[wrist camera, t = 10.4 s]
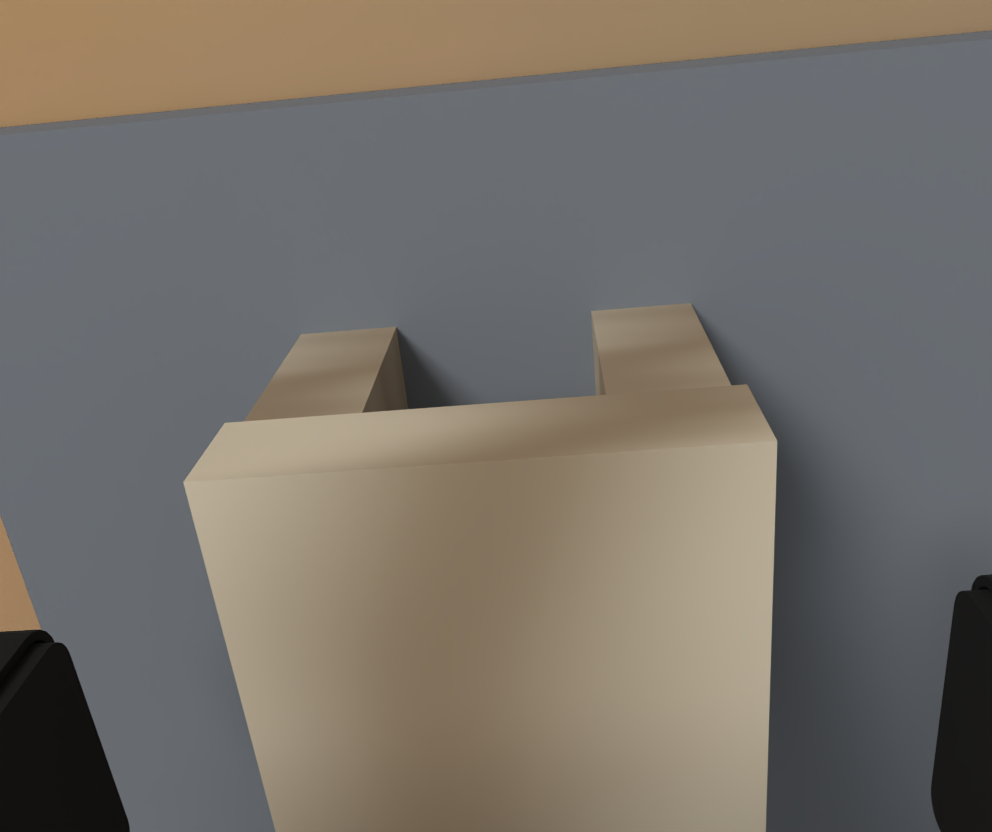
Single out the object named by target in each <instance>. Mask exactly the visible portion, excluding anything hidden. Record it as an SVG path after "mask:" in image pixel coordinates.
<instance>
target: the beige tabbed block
mask: <svg viewBox="0 0 992 832" xmlns="http://www.w3.org/2000/svg"><path fill="white" fill-rule="evenodd" d="M591 317H592V335H593V352H594V370H595V387H596V395H595V396H582V397H568V398H555V399H541V400H528V401H514V402H501V403H487V404H474V405H460V406H447V407H433V408H419V409H408V403H407V396H406V389H405V382H404V375H403V369H402V362H401V355H400V348H399V342H398V335H397V328H396V327H387V328H374V329H362V330H349V331H337V332H325V333H312V334H301V335H300V337H299V338H298V340H297V341H296V343H295V344H294V346H293V347H292V349H291V350H290V352H289V353H288V355H287V356H286V358H285V359H284V361H283V362H282V364H281V366H280V367H279V369H278V370H277V372H276V373H275V375H274V376H273V378H272V379H271V381H270V382H269V384H268V385H267V387H266V388H265V390H264V391H263V393H262V394H261V396H260V397H259V399H258V400H257V402H256V403H255V405H254V406H253V408H252V409H251V411H250V412H249V414H248V415H247V417H246V419H245V420H244V421H243V422H230V423H224V425H223V426H222V428H221V429H220V430H219V432H218V433H217V435H216V436H215V438H214V439H213V440H212V442H211V443H210V445H209V446H208V448H207V449H206V450H205V452H204V453H203V455H202V456H201V458H200V459H199V460H198V462H197V463H196V465H195V466H194V468H193V469H192V470H191V472H190V473H189V475H188V476H187V477H186V479H185V480H184V482H183V483H184V487H185V491H186V495H187V498H188V502H189V506H190V510H191V514H192V517H193V521H194V525H195V529H196V532H197V536H198V540H199V544H200V548H201V551H202V555H203V559H204V563H205V567H206V570H207V574H208V578H209V582H210V585H211V589H212V593H213V597H214V601H215V604H216V608H217V612H218V616H219V619H220V623H221V627H222V631H223V635H224V638H225V642H226V646H227V650H228V654H229V657H230V661H231V665H232V669H233V672H234V676H235V680H236V684H237V688H238V691H239V695H240V699H241V703H242V707H243V710H244V714H245V718H246V722H247V725H248V729H249V733H250V737H251V741H252V744H253V748H254V752H255V756H256V759H257V763H258V767H259V771H260V775H261V778H262V782H263V786H264V790H265V794H266V797H267V801H268V805H269V809H270V812H271V816H272V820H273V824H274V828H275V831H276V832H766V805H767V772H768V738H769V705H770V671H771V638H772V604H773V571H774V537H775V504H776V470H777V439H776V437H775V436H774V434H773V432H772V430H771V428H770V426H769V424H768V422H767V421H766V419H765V417H764V415H763V413H762V411H761V409H760V407H759V406H758V404H757V402H756V400H755V398H754V396H753V394H752V393H751V391H750V389H749V387H748V385H747V384H744V385H731V383H730V381H729V379H728V377H727V375H726V373H725V371H724V369H723V367H722V365H721V363H720V361H719V359H718V357H717V355H716V353H715V351H714V349H713V347H712V345H711V343H710V341H709V339H708V337H707V335H706V333H705V331H704V329H703V327H702V325H701V323H700V321H699V319H698V317H697V315H696V313H695V311H694V309H693V307H692V305H691V303H686V304H673V305H661V306H648V307H636V308H623V309H611V310H599V311H591Z"/></svg>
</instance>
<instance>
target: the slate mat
mask: <svg viewBox="0 0 992 832" xmlns="http://www.w3.org/2000/svg"><path fill="white" fill-rule="evenodd" d="M686 303H691V305H692V307H693V309H694V311H695V313H696V315H697V317H698V319H699V321H700V323H701V325H702V327H703V329H704V331H705V333H706V335H707V337H708V339H709V341H710V343H711V345H712V347H713V349H714V351H715V353H716V355H717V357H718V359H719V361H720V363H721V365H722V367H723V369H724V371H725V373H726V375H727V377H728V379H729V381H730V383H731V385H744V384H747V385H748V387H749V389H750V391H751V393H752V394H753V396H754V398H755V400H756V402H757V404H758V406H759V407H760V409H761V411H762V413H763V415H764V417H765V419H766V421H767V422H768V424H769V426H770V428H771V430H772V432H773V434H774V436H775V437H776V439H777V470H776V504H775V537H774V571H773V604H772V638H771V671H770V705H769V738H768V772H767V805H766V832H941V831H940V829H939V827H938V824H937V822H936V819H935V815H934V812H933V807H932V801H931V782H932V774H933V767H934V759H935V751H936V743H937V735H938V727H939V719H940V711H941V703H942V695H943V688H944V680H945V672H946V664H947V656H948V648H949V640H950V632H951V624H952V616H953V609H954V602H955V598H956V596H957V594H958V592H960V591H967V590H971V588H972V584H973V582H974V581H975V579H976V577H978V576H980V575H991V574H992V31H982V32H972V33H962V34H952V35H942V36H931V37H921V38H911V39H901V40H890V41H880V42H870V43H860V44H850V45H839V46H829V47H819V48H809V49H799V50H788V51H778V52H768V53H758V54H748V55H737V56H727V57H717V58H707V59H696V60H686V61H676V62H666V63H656V64H645V65H635V66H625V67H615V68H605V69H594V70H584V71H574V72H564V73H553V74H543V75H533V76H523V77H513V78H502V79H492V80H482V81H472V82H462V83H451V84H441V85H431V86H421V87H410V88H400V89H390V90H380V91H370V92H359V93H349V94H339V95H329V96H319V97H308V98H298V99H288V100H278V101H268V102H257V103H247V104H237V105H227V106H216V107H206V108H196V109H186V110H176V111H165V112H155V113H145V114H135V115H125V116H114V117H104V118H94V119H84V120H73V121H63V122H53V123H43V124H33V125H22V126H12V127H2V128H0V515H1V518H2V521H3V524H4V527H5V529H6V532H7V535H8V538H9V540H10V543H11V546H12V549H13V552H14V554H15V557H16V560H17V563H18V565H19V568H20V571H21V574H22V577H23V579H24V582H25V585H26V588H27V590H28V593H29V596H30V599H31V601H32V604H33V607H34V610H35V613H36V615H37V618H38V621H39V624H40V626H41V629H42V630H43V631H46V632H48V633H49V634H50V635H51V636H52V638H53V640H54V642H59V643H63V644H64V645H65V646H66V647H67V649H68V651H69V653H70V655H71V658H72V661H73V664H74V667H75V670H76V672H77V675H78V678H79V681H80V684H81V687H82V690H83V692H84V695H85V698H86V701H87V704H88V707H89V710H90V712H91V715H92V718H93V721H94V724H95V727H96V730H97V732H98V735H99V738H100V741H101V744H102V747H103V750H104V752H105V755H106V758H107V761H108V764H109V767H110V770H111V773H112V775H113V778H114V781H115V784H116V787H117V790H118V793H119V795H120V798H121V801H122V804H123V807H124V810H125V813H126V815H127V818H128V822H129V826H130V832H276V831H275V828H274V824H273V820H272V816H271V812H270V809H269V805H268V801H267V797H266V794H265V790H264V786H263V782H262V778H261V775H260V771H259V767H258V763H257V759H256V756H255V752H254V748H253V744H252V741H251V737H250V733H249V729H248V725H247V722H246V718H245V714H244V710H243V707H242V703H241V699H240V695H239V691H238V688H237V684H236V680H235V676H234V672H233V669H232V665H231V661H230V657H229V654H228V650H227V646H226V642H225V638H224V635H223V631H222V627H221V623H220V619H219V616H218V612H217V608H216V604H215V601H214V597H213V593H212V589H211V585H210V582H209V578H208V574H207V570H206V567H205V563H204V559H203V555H202V551H201V548H200V544H199V540H198V536H197V532H196V529H195V525H194V521H193V517H192V514H191V510H190V506H189V502H188V498H187V495H186V491H185V487H184V483H183V482H184V480H185V479H186V477H187V476H188V475H189V473H190V472H191V470H192V469H193V468H194V466H195V465H196V463H197V462H198V460H199V459H200V458H201V456H202V455H203V453H204V452H205V450H206V449H207V448H208V446H209V445H210V443H211V442H212V440H213V439H214V438H215V436H216V435H217V433H218V432H219V430H220V429H221V428H222V426H223V425H224V423H230V422H243V421H244V420H245V419H246V417H247V415H248V414H249V412H250V411H251V409H252V408H253V406H254V405H255V403H256V402H257V400H258V399H259V397H260V396H261V394H262V393H263V391H264V390H265V388H266V387H267V385H268V384H269V382H270V381H271V379H272V378H273V376H274V375H275V373H276V372H277V370H278V369H279V367H280V366H281V364H282V362H283V361H284V359H285V358H286V356H287V355H288V353H289V352H290V350H291V349H292V347H293V346H294V344H295V343H296V341H297V340H298V338H299V337H300V335H301V334H312V333H325V332H337V331H349V330H362V329H374V328H387V327H396V328H397V335H398V342H399V348H400V355H401V362H402V369H403V375H404V382H405V389H406V396H407V403H408V409H419V408H433V407H447V406H460V405H474V404H487V403H501V402H514V401H528V400H541V399H555V398H568V397H582V396H595V395H596V387H595V370H594V352H593V335H592V317H591V311H599V310H611V309H623V308H636V307H648V306H661V305H673V304H686Z"/></svg>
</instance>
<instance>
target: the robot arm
mask: <svg viewBox="0 0 992 832" xmlns="http://www.w3.org/2000/svg"><path fill="white" fill-rule="evenodd" d="M931 801H932V807H933V812H934V815H935V819H936V822H937V824H938V827H939V829H940V831H941V832H992V574H991V575H980V576H978V577H976V579H975V581H974V582H973V584H972V588H971V590H967V591H960V592H958V594H957V596H956V598H955V602H954V609H953V616H952V624H951V632H950V640H949V648H948V656H947V664H946V672H945V680H944V688H943V695H942V703H941V711H940V719H939V727H938V735H937V743H936V751H935V759H934V767H933V774H932V782H931ZM0 832H130V826H129V822H128V818H127V815H126V813H125V810H124V807H123V804H122V801H121V798H120V795H119V793H118V790H117V787H116V784H115V781H114V778H113V775H112V773H111V770H110V767H109V764H108V761H107V758H106V755H105V752H104V750H103V747H102V744H101V741H100V738H99V735H98V732H97V730H96V727H95V724H94V721H93V718H92V715H91V712H90V710H89V707H88V704H87V701H86V698H85V695H84V692H83V690H82V687H81V684H80V681H79V678H78V675H77V672H76V670H75V667H74V664H73V661H72V658H71V655H70V653H69V651H68V649H67V647H66V646H65V645H64V644H63V643H59V642H54V640H53V638H52V636H51V635H50V634H49V633H48V632H46V631H43V630H24V631H7V632H0Z"/></svg>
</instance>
